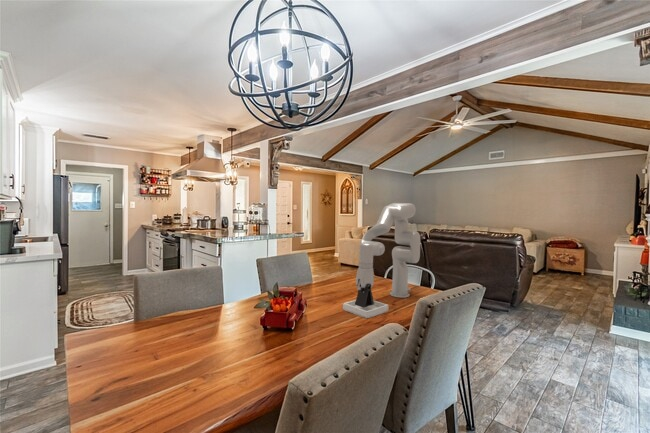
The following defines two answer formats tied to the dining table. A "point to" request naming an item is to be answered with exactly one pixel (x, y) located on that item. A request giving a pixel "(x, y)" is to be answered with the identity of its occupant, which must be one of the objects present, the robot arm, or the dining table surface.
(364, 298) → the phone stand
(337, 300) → the dining table surface
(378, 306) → the tray
